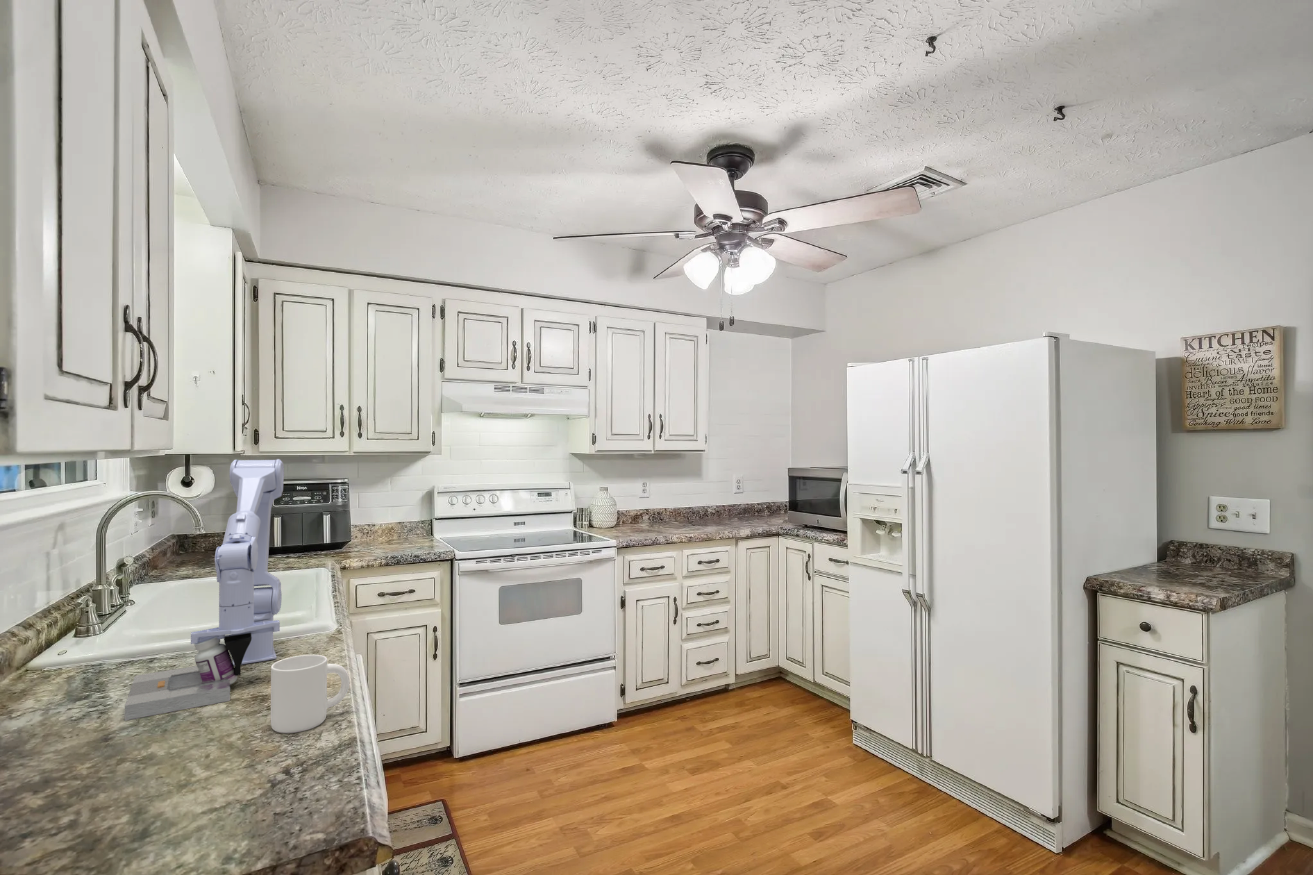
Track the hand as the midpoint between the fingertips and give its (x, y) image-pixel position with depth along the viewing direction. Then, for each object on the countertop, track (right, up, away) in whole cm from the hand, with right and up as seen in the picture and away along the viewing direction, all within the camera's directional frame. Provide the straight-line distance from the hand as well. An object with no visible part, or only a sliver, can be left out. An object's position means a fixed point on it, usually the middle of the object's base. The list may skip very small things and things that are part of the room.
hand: (236, 674), depth 125 cm
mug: (+23, -2, -16) cm, 28 cm away
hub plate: (-8, -2, -4) cm, 9 cm away
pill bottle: (-2, -2, -1) cm, 3 cm away
